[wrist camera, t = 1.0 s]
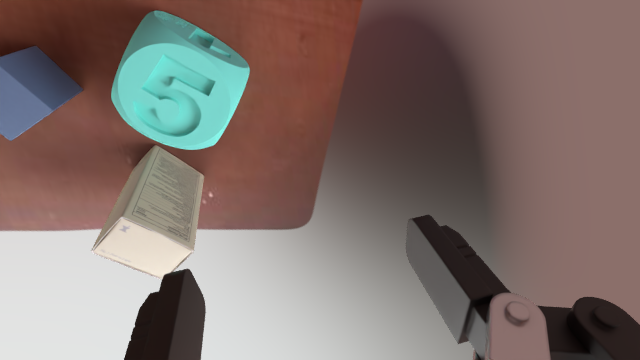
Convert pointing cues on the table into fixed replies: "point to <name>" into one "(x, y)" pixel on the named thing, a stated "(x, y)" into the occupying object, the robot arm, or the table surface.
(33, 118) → the block
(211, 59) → the decorative dice
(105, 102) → the table surface
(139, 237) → the cosmetic box
